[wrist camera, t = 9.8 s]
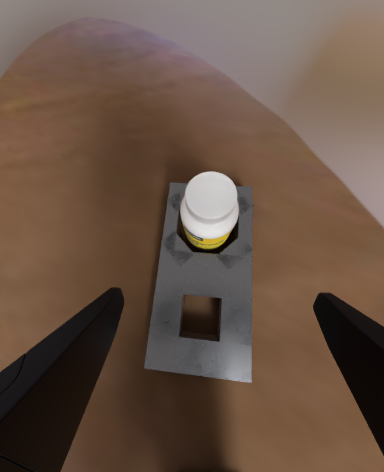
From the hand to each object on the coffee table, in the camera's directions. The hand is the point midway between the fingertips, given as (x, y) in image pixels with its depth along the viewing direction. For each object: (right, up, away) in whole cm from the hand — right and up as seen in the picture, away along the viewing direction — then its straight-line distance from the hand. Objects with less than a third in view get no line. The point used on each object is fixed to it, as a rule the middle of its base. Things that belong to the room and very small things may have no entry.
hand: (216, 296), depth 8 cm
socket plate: (0, -1, +13) cm, 13 cm away
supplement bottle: (+1, +3, +15) cm, 15 cm away
